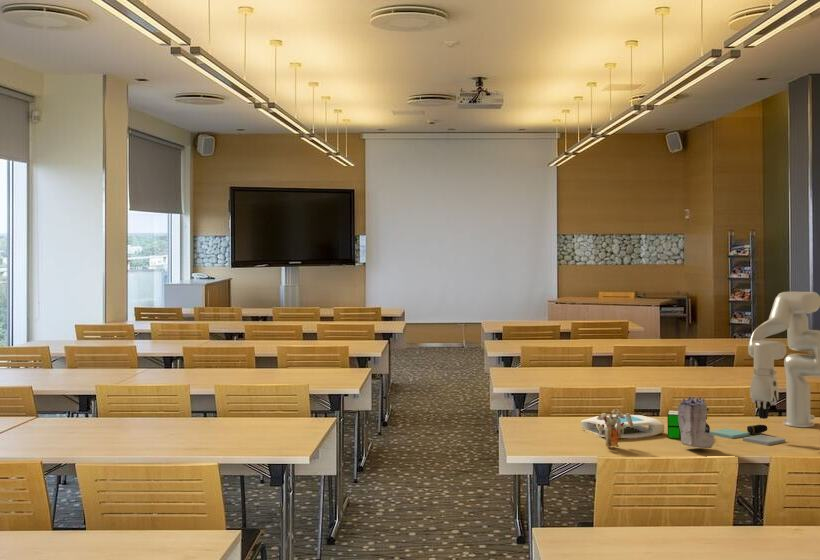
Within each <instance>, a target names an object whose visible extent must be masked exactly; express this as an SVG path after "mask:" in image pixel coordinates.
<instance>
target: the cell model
mask: <svg viewBox="0 0 820 560" xmlns="http://www.w3.org/2000/svg"><path fill="white" fill-rule="evenodd" d="M705 399H706V398H705V397H701V396H699V397H693V396H691V397H690V396H689V397H688V398H687V399H685V397H682V401H681V402H680V403H679V402H678V405H677V408H678V410H677V411H678V422H679V428H680V432H681V438H680V442H681V443H680V444H682V445H684V446H687V447H692V448H700V449H701V448H702V449H711V448H712V447H713V446H714V442H715V435H712V434H709V432H710V431H711V430H710V429H711V427H710V425H709V424H708V423H707V419H708V417H707V413H708V412H709V407H708V405H707V403H706V402H705V401H706V400H705Z"/></svg>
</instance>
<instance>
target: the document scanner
mask: <svg viewBox="0 0 820 560" xmlns="http://www.w3.org/2000/svg"><path fill="white" fill-rule="evenodd" d="M612 415H613V417H616V415H617V414H612ZM623 415H624V416H625V419H622V418H620V417H618V418H620V420H621V423H623V422H624V424H625V427H630V428H629V429H631V428H634V429H633V430H635V429H637V430H636V431H638V430H639V432H635V433H624V434H621V438H628V439H639V438H646V437H647V438H648V437H654V436H657V435H659V434H660V435H661V434H662V433H664V432H665V424H664V423H663V422H661V421H660V420H659V419H657V418H653V417H649V416H645V415H641V414H630V415H631V419H632V423H633V426H630V424H628V422H627V420H626V414H623ZM598 416H599V415H597V416H592V417H590V418H585V419H582V420H581V422H580V423H581V424H580V425H581V427H580V428H581V429H582V428H583V429H585V430H589V431H590V432H593V433H595V434H596V435H599V434H598V428H597V427H598V424H600V425H602V424H604V429H606V424H605V420H598V419H597V418H598ZM607 417H608V418H610V417H609V414H607ZM645 426H648V427H645ZM615 428H616V429H617V423H616V425H615ZM583 429H582V430H583ZM604 429H603V430H604ZM599 436H601V437H605V435H599ZM638 437H639V438H638ZM604 439H606V437H605V438H604Z"/></svg>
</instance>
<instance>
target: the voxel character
mask: <svg viewBox="0 0 820 560" xmlns="http://www.w3.org/2000/svg"><path fill="white" fill-rule="evenodd" d="M614 414H615V415H616V417H613V415H614ZM607 415H609V417H610V418H608V417H607ZM624 415H626V420H627V422H628V424H630V426H633V423H632V419H631V415H632V414H631V413H625V414H623V413H622V412H621V411H620V410H619V409H618V408H616V409H613V410H611V411H610V412H609V413H606V412H602V413H601V414H600V415H597V416H598V418H597V419H598V420H605V424H606V429H604V424H602V425H600V424H598V425H597V427H598V429H599V430H598V434H599V435H605V437H606V438H605V447H607V448H611V447H614V448H619V444H618V441H619V439H618V438H621V434H625V433H624V432H625V429H626V428H625V424H624V422H623V423H621V420H620V418H622V419H625V416H624ZM618 417H620V418H618ZM616 423H617V429H616V428H615V425H616ZM603 429H604V430H603Z"/></svg>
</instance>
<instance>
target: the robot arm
mask: <svg viewBox="0 0 820 560" xmlns="http://www.w3.org/2000/svg"><path fill="white" fill-rule="evenodd" d="M819 309H820V295H819V293H817V292H816V291H782V292H780V293H778V294H777V296H775V298H774V301H773V303H772V307H771V310H770V314H769V316H768V319H767V320H766V321H764V322H763V323H761V324H760V325H758V326H757V327H756V328H755V329H754V330H753V331H752V333H751V336H750V339H749V341H748V344H747V345H748V346H747V353H748V355H749V356H750V357H751V358H753V375H751V380H750V389H749V396H750V402H752V403H754V404H755V405H756V406H757V408H758V416H759V419H762V420H765V419H768V418H769V409H770V408H771V406H777V404H778V403H777V402H778V401H779V386H778V380H777V376H775V375H777V371H776V370H775V360H781V359H783V358H784V357H785V358H784V360H783V366H784V371H785V377H786V378H785V379H786V380H785V381H786V384H785V385H786V420H783V421H782V424H783V425H785V426H788V427H793V428H813V427H815V423H814V422H812V420H815V418H816V416H815V415H814V414H811V385H810V383H809V381H808V379H807V378H806V377H817V378H820V329H819V330H818V329H809V317H808V315H807V314H812V313H815V312H817V311H819ZM786 330H787V331H786ZM784 331H786V333H787V335H786V336H787V337H786V338H787V345H788V348H789V350H791V351H796V352H809V353H810V352H811V353H812V352H813V353H814V354H807V353H806V354H805V353H790V354H788V355H786V354H787V346H786V345H785V344H784V342H781V341H779V340H778V341H776V340H764V339H765V338H767V337H770V336H773V335H777V334H779V333H782V332H784Z"/></svg>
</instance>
